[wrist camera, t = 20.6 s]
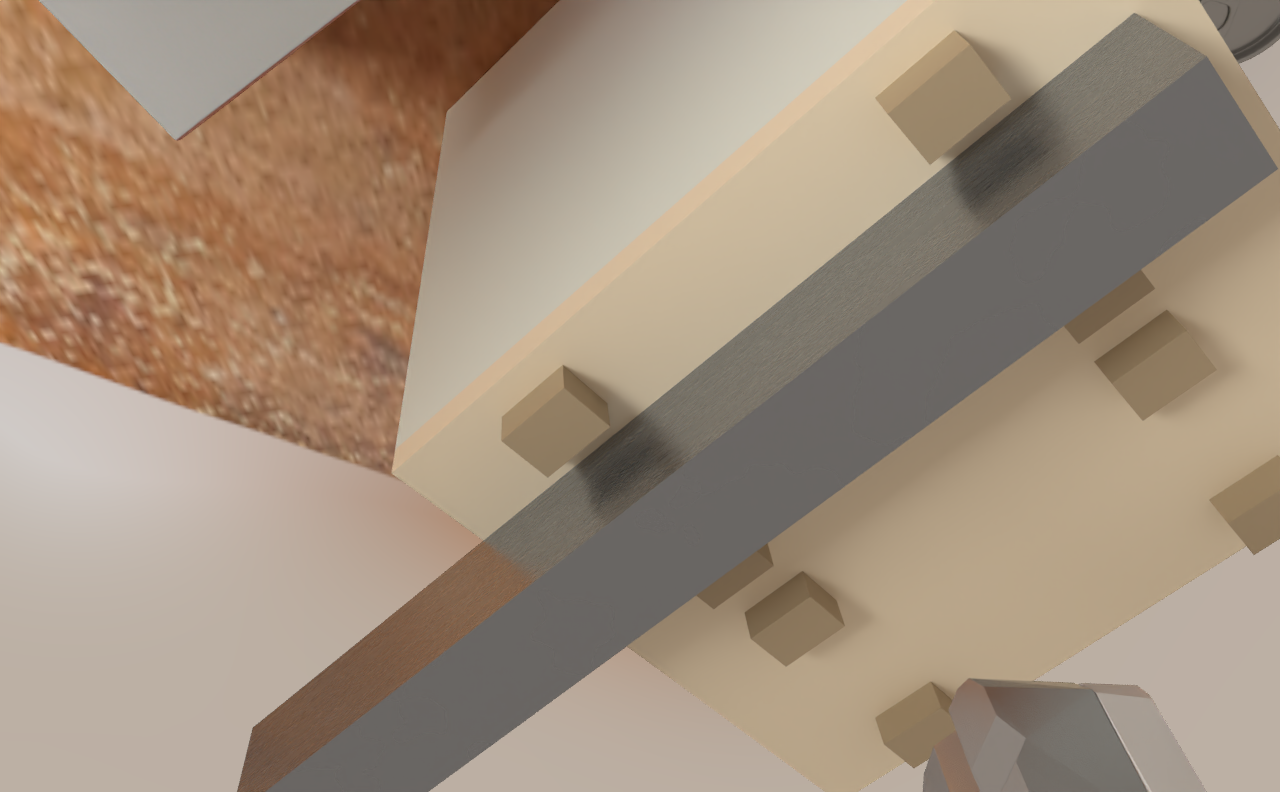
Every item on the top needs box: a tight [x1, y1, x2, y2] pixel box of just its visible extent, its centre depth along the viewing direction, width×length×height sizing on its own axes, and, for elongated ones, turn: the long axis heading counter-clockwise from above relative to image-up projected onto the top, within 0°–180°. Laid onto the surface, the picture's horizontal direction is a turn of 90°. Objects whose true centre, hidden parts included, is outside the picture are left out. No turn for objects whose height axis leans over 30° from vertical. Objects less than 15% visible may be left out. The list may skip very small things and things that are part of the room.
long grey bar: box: [237, 13, 1278, 792], centre depth 28 cm, size 28×3×3 cm, turn 132°
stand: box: [392, 0, 1280, 792], centre depth 40 cm, size 20×18×27 cm
